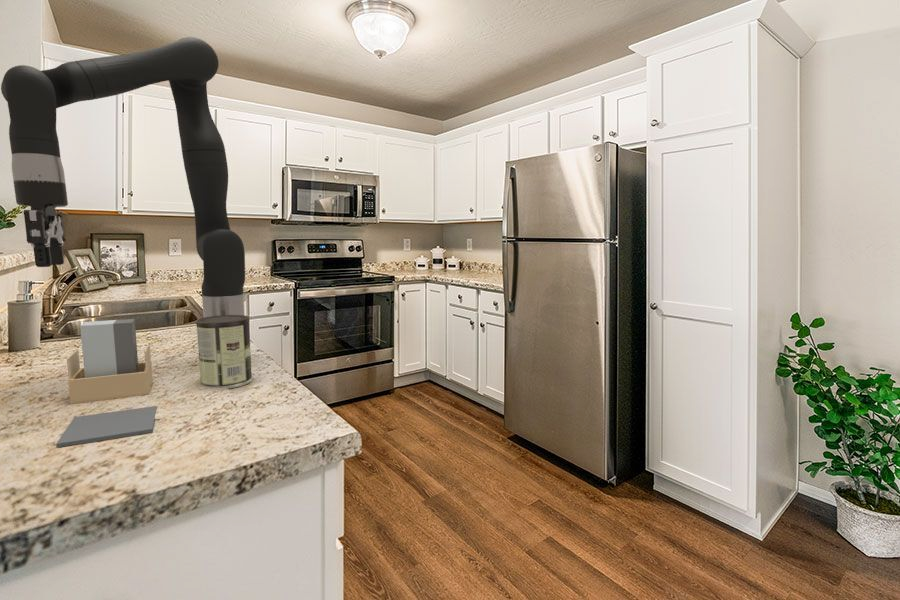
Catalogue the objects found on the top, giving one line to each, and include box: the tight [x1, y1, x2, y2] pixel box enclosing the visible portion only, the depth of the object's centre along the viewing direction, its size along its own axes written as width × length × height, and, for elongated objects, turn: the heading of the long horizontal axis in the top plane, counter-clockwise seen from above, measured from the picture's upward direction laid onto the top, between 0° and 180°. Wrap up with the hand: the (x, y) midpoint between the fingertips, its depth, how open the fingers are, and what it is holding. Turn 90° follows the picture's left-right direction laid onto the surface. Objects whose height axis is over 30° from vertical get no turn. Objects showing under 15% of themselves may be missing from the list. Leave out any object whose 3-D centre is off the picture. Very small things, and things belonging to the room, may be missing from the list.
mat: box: [55, 405, 158, 448], centre depth 77 cm, size 12×12×1 cm
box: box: [79, 318, 139, 378], centre depth 92 cm, size 8×5×14 cm, turn 118°
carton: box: [66, 343, 154, 405], centre depth 92 cm, size 12×9×9 cm
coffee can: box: [195, 314, 253, 389], centre depth 101 cm, size 10×10×14 cm
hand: (50, 265), depth 91 cm, fingers open, 8 cm apart
